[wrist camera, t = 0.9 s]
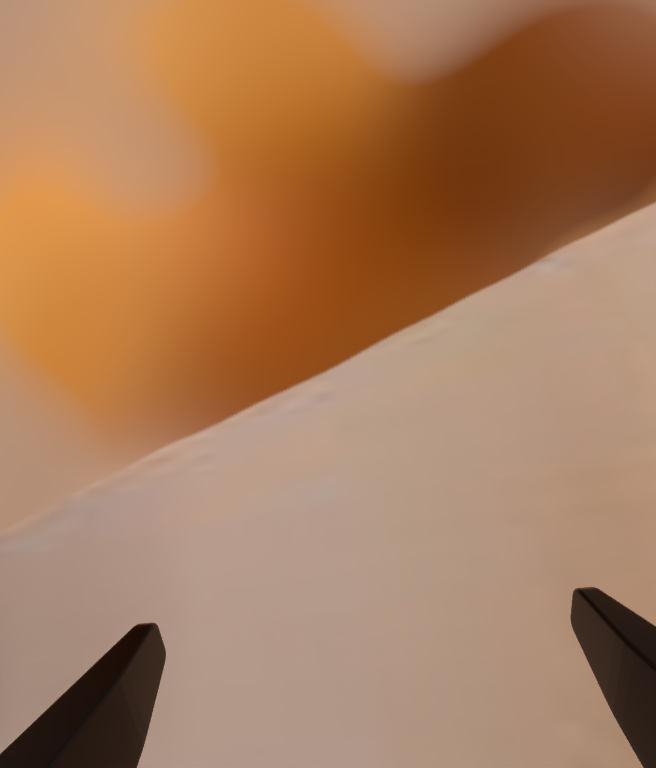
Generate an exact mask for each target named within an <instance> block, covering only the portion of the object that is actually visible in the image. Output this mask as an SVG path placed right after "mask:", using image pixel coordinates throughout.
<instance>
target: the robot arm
mask: <svg viewBox="0 0 656 768" xmlns="http://www.w3.org/2000/svg"><path fill="white" fill-rule="evenodd" d="M571 624H572V627H573V630H574V632H575V635H576V637H577V639H578V641H579V643H580V645H581V647H582V650H583V652H584V654H585V656H586V658H587V660H588V662H589V665H590V667H591V669H592V671H593V673H594V675H595V677H596V679H597V682H598V684H599V686H600V688H601V690H602V692H603V694H604V697H605V699H606V701H607V703H608V705H609V707H610V709H611V711H612V713H613V715H614V717H615V718H616V720H617V722H618V724H619V726H620V727H621V729H622V731H623V733H624V734H625V736H626V738H627V740H628V741H629V743H630V745H631V747H632V748H633V750H634V752H635V754H636V755H637V757H638V759H639V761H640V762H641V764H642V766H643V767H644V768H656V626H654V625H653V624H651V623H650V622H648V621H647V620H645V619H644V618H642V617H641V616H639V615H638V614H636V613H635V612H633V611H632V610H630V609H628V608H627V607H625V606H624V605H622V604H621V603H619V602H618V601H616V600H615V599H613V598H612V597H610V596H609V595H607V594H606V593H604V592H603V591H601V590H599V589H597V588H595V587H585V588H577V589H575V590H574V591H573V597H572V608H571ZM165 658H166V651H165V647H164V643H163V640H162V637H161V634H160V631H159V628H158V625H157V624H155V623H143V624H138V625H136V626H134V627H133V628H132V629H131V630H130V631H129V632H128V633H127V634H126V635H125V636H124V637H123V638H121V639H120V640H119V641H118V642H117V643H116V644H115V645H114V646H113V647H112V648H111V649H110V650H109V651H108V652H107V653H106V654H105V655H104V656H103V657H102V658H101V659H99V660H98V661H97V662H96V663H95V664H94V665H93V666H92V667H91V668H90V669H89V670H88V671H87V672H86V673H85V674H84V675H83V676H82V677H81V678H80V679H79V680H77V681H76V682H75V683H74V684H73V685H72V686H71V687H70V688H69V689H68V690H67V691H66V692H65V693H64V694H63V695H62V696H61V697H60V698H59V699H58V700H57V701H55V702H54V703H53V704H52V705H51V706H50V707H49V708H48V709H47V710H46V711H45V712H44V713H43V714H42V715H41V716H40V717H39V718H38V719H37V720H36V721H35V722H33V723H32V724H31V725H30V726H29V727H28V728H27V729H26V730H25V731H24V732H23V733H22V734H21V735H20V736H19V737H18V738H17V739H16V740H15V741H14V742H13V743H11V744H10V745H9V746H8V747H7V748H6V749H5V750H4V751H3V752H2V753H1V754H0V768H137V765H138V762H139V759H140V756H141V753H142V750H143V747H144V743H145V740H146V736H147V732H148V728H149V724H150V720H151V716H152V712H153V708H154V704H155V700H156V696H157V692H158V688H159V684H160V680H161V676H162V672H163V668H164V664H165Z"/></svg>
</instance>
